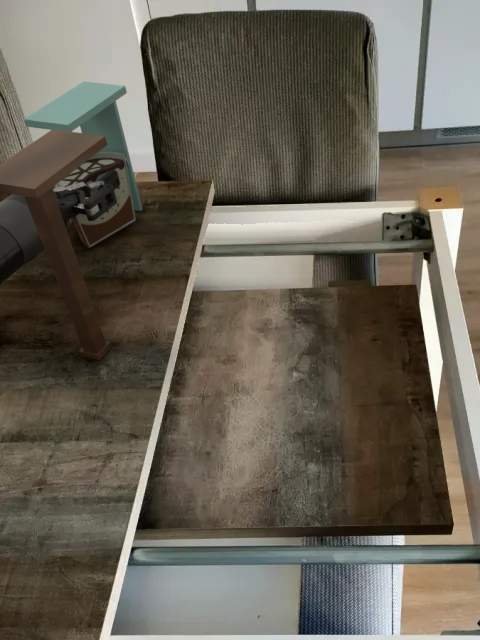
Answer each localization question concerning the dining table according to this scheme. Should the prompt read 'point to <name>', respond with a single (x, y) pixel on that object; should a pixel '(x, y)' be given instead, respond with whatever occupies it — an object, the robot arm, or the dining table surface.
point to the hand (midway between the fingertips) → (91, 172)
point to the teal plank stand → (89, 119)
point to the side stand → (58, 219)
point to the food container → (115, 215)
